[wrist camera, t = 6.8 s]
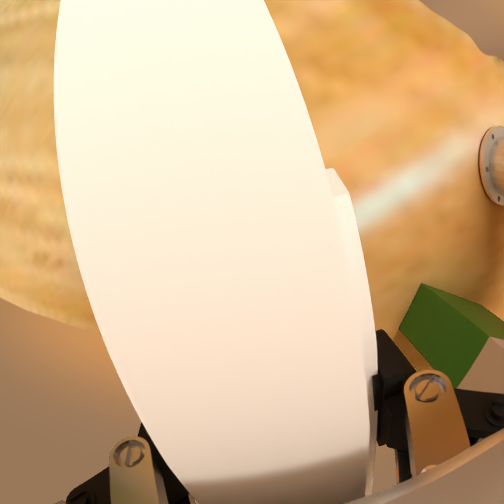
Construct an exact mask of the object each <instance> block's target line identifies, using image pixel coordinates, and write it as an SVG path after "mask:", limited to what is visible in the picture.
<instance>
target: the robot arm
mask: <svg viewBox="0 0 504 504" xmlns="http://www.w3.org/2000/svg"><path fill="white" fill-rule="evenodd" d="M479 164H480V174H481V179H482V183H483V186H484V189H485V191H486V193H487V195H488V197H489V198H490V199H491V200H492V201H493V202H494V203H496V204H498V205H501V206H504V127H501V126H495V127H492V128H490V129H489V130H488V131H487V133H486V134H485V136H484V138H483V141H482V144H481V149H480V163H479ZM375 333H376V341H377V364H378V374H375V375H373V376H372V385H373V397H374V411H377V410H378V414H377V438H376V440H377V442H378V445H379V446H382V445H384V444H386V445H387V447H389V448H393V449H395V463H396V480H397V481H396V482H397V485H395V486H392V487H390V488H387V489H385V490H382V491H379V492H377V493H374V494H371V495H369V496H366V497H363V498H360V499H357V500H354V501H350V502H347V503H344V504H504V394H501V393H491V392H481V391H472V390H464V389H457V388H453V386H452V384H451V381H450V380H449V378H448V377H447V376H446V375H445V374H444V373H442V372H439V371H437V370H423V371H420V372H416V371H415V369H414V368H413V367H412V365H411V364H410V363H409V361H408V360H407V359H406V357H405V356H404V355H403V354H402V352H401V351H400V350H399V348H398V347H397V346H396V345H395V343H394V342H393V341H392V340H391V338H390V337H389V336H388V335H387V333H386V332H385V331H384V330H382V329H380V330H378V331H375ZM55 504H196V503H195V499H194V497H193V496H192V495H191V494H190V493H189V492H188V490H187V489H186V488H185V487H184V486H183V484H182V483H181V482H180V481H179V479H178V478H177V477H176V475H175V474H174V473H173V472H172V470H171V469H170V468H169V466H168V465H167V463H166V462H165V460H164V459H163V457H162V456H161V454H160V452H159V451H158V449H157V447H156V446H155V444H154V442H153V441H152V439H151V437H150V436H149V434H148V432H147V430H146V429H145V427H144V425H143V423H141V426H140V429H139V433H138V437H136V436H132V437H127V438H124V439H122V440H120V441H119V442H117V443H116V444H115V446H114V447H113V448H112V450H111V452H110V456H109V467H107V468H106V469H104V470H103V471H101V472H100V473H98V474H97V475H95V476H94V477H92V478H91V479H89V480H88V481H86V482H84V483H83V484H81V485H79V486H78V487H76V488H75V489H73V490H72V491H71V492H70V494H69V495H68V497H67V499H66V502H65V501H63V500H61V501H59V502H57V503H55Z"/></svg>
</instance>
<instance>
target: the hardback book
mask: <svg viewBox="0 0 504 504" xmlns="http://www.w3.org/2000/svg"><path fill="white" fill-rule="evenodd" d="M399 330H400V331H401V332H402V333H403V334H404V335H405V336H406V337H407V338H408V340H409V341H410V342H411V343H412V344H413V345H414V346H415V347H416V349H417V350H418V351H419V352H420V353H421V354H422V355H423V357H424V358H425V359H426V360H427V361H428V362H429V363H430V365H431V366H432V367H433V368H434V369H435V370H437V371H439V372H442V373H444V374H445V375H446V376H447V377H448V378H449V380H450V381H451V384H452V386H453V388H457V389H464V390H472V391H481V392H491V393H501V394H504V321H502V320H501V319H500V318H498V317H497V316H496V315H494V314H493V313H491V312H490V311H489V310H487V309H486V308H485V307H483V306H482V305H479V304H476V303H474V302H471V301H468V300H466V299H463V298H460V297H458V296H455V295H452V294H450V293H447V292H444V291H441V290H439V289H436V288H433V287H431V286H428V285H425V284H422V283H421V285H420V287H419V289H418V291H417V293H416V295H415V297H414V299H413V301H412V303H411V305H410V307H409V309H408V311H407V313H406V315H405V317H404V319H403V321H402V323H401V325H400V326H399Z"/></svg>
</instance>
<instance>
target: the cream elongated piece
mask: <svg viewBox="0 0 504 504" xmlns="http://www.w3.org/2000/svg"><path fill="white" fill-rule="evenodd" d="M54 115H55V132H56V145H57V155H58V163H59V171H60V179H61V185H62V192H63V198H64V203H65V209H66V214H67V219H68V224H69V228H70V233H71V237H72V241H73V246H74V250H75V254H76V257H77V261H78V265H79V268H80V272H81V276H82V279H83V282H84V286H85V289H86V292H87V295H88V298H89V301H90V304H91V307H92V310H93V313H94V316H95V319H96V322H97V324H98V327H99V330H100V332H101V335H102V338H103V340H104V343H105V345H106V348H107V350H108V352H109V355H110V357H111V360H112V362H113V364H114V366H115V369H116V371H117V373H118V375H119V378H120V380H121V382H122V384H123V386H124V388H125V390H126V392H127V394H128V396H129V398H130V400H131V402H132V404H133V406H134V408H135V410H136V412H137V414H138V416H139V418H140V420H141V421H142V423H143V425H144V427H145V429H146V430H147V432H148V434H149V436H150V437H151V439H152V441H153V442H154V444H155V446H156V447H157V449H158V451H159V452H160V454H161V456H162V457H163V459H164V460H165V462H166V463H167V465H168V466H169V468H170V469H171V470H172V472H173V473H174V474H175V475H176V477H177V478H178V479H179V481H180V482H181V483H182V484H183V486H184V487H185V488H186V489H187V490H188V492H189V493H190V494H191V495H192V496H193V497H194V499H195V500H196V501H197V502H198V503H199V504H344V503H347V502H350V501H354V500H357V499H360V498H363V497H366V496H369V495H371V492H372V484H373V475H374V463H375V452H376V438H377V414H378V410H377V411H374V397H373V385H372V376H373V375H375V374H378V364H377V341H376V333H375V325H374V317H373V310H372V303H371V297H370V290H369V284H368V278H367V273H366V267H365V262H364V257H363V252H362V247H361V242H360V237H359V232H358V228H357V223H356V219H355V215H354V210H353V206H352V202H351V198H350V194H349V192H348V191H347V189H346V187H345V186H344V184H343V183H342V181H341V179H340V178H339V176H338V175H337V173H336V172H335V170H334V169H333V168H330V169H325V167H324V163H323V160H322V156H321V153H320V149H319V146H318V143H317V139H316V136H315V133H314V130H313V127H312V123H311V120H310V117H309V114H308V111H307V108H306V105H305V102H304V100H303V97H302V94H301V91H300V88H299V85H298V83H297V80H296V77H295V74H294V72H293V69H292V66H291V64H290V61H289V59H288V56H287V54H286V51H285V49H284V46H283V44H282V41H281V39H280V36H279V34H278V32H277V29H276V27H275V25H274V22H273V20H272V18H271V15H270V13H269V11H268V9H267V7H266V4H265V2H264V0H61V3H60V9H59V17H58V25H57V34H56V45H55V61H54Z"/></svg>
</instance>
